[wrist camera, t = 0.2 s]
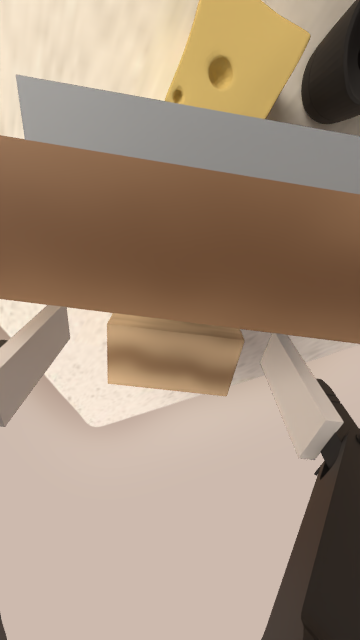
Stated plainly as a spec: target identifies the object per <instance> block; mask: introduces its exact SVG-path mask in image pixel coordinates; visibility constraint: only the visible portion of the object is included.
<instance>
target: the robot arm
mask: <svg viewBox="0 0 360 640" xmlns="http://www.w3.org/2000/svg"><path fill="white" fill-rule="evenodd" d="M69 339H70V333H69V324H68V316H67V307H62V306H54V305H47V306H46V307H45V308H44V309H43V310H42V311H40V312H39V313H38V314H37V315H36V316H35V317H34V318H33V319H32V320H30V321H29V322H28V323H27V324H26V325H25V326H24V327H23V328H22V329H20V330H19V331H18V332H17V333H16V334H15V335H14V336H13V337H12V338H11V339H9V340H0V426H3V427H5V426H6V425H7V423H8V422H9V421H10V419H11V418H12V417H13V415H14V414H15V413H16V411H17V410H18V408H19V407H20V406H21V404H22V403H23V402H24V400H25V399H26V398H27V396H28V395H29V394H30V392H31V391H32V389H33V388H34V387H35V385H36V384H37V383H38V381H39V380H40V378H41V377H42V376H43V374H44V373H45V372H46V370H47V369H48V368H49V366H50V365H51V364H52V362H53V361H54V359H55V358H56V357H57V355H58V354H59V353H60V351H61V350H62V349H63V347H64V346H65V345H66V343H67V342H68V340H69ZM260 364H261V366H262V369H263V371H264V374H265V376H266V379H267V381H268V384H269V386H270V389H271V391H272V394H273V396H274V399H275V401H276V403H277V406H278V408H279V411H280V413H281V416H282V418H283V421H284V423H285V425H286V428H287V431H288V433H289V436H290V438H291V440H292V443H293V446H294V448H295V451H296V453H297V455H298V458H301V459H310V460H315V458H317V456H318V455H319V454H320V452H321V454H322V456H323V458H324V460H325V461H324V462H323V463H322V465H321V466H320V467H319V468H318V470H317V471H316V472H315V475H318V476H317V479H316V482H315V485H314V488H313V491H312V494H311V497H310V500H309V503H308V506H307V509H306V512H305V515H304V518H303V520H302V524H301V526H300V530H299V532H298V535H297V538H296V541H295V544H294V547H293V550H292V553H291V556H290V559H289V562H288V565H287V568H286V571H285V574H284V577H283V579H282V583H281V586H280V589H279V591H278V595H277V597H276V600H275V603H274V606H273V609H272V612H271V615H270V618H269V621H268V624H267V627H266V630H265V632H264V635H263V637H262V639H261V640H360V429H359V428H358V427H357V425H356V424H355V423H354V421H353V420H352V418H351V417H350V415H349V414H348V412H347V411H346V409H345V408H344V407H343V405H342V404H340V401H339V399H338V398H337V397H336V395H335V394H334V392H333V391H332V389H331V388H330V387H329V386H328V385H327V384H326V383H325V382H324V381H323V380H321V379H316V378H315V377H314V375H313V374H312V372H311V371H310V369H309V368H308V366H307V365H306V363H305V362H304V360H303V358H302V357H301V355H300V354H299V352H298V351H297V349H296V348H295V346H294V345H293V343H292V342H291V340H290V339H289V337H288V335H286V334H278V333H272V335H271V337H270V339H269V342H268V344H267V347H266V349H265V352H264V354H263V356H262V359H261V361H260ZM0 640H7V638H6V634H5V631H4V628H3V624H2V620H1V615H0Z"/></svg>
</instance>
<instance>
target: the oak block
mask: <svg viewBox="0 0 360 640" xmlns="http://www.w3.org/2000/svg"><path fill="white" fill-rule="evenodd" d="M244 341H245V340H244V338H243V335H242V333H241V331H240V329H238V328H230V327H222V326H214V325H206V324H198V323H190V322H182V321H174V320H166V319H158V318H150V317H142V316H134V315H126V314H118V313H113V314H112V316H111V318H110V320H109V321H108V323H107V360H108V384H117V385H126V386H135V387H145V388H154V389H163V390H173V391H182V392H191V393H200V394H210V395H219V396H227V394H228V391H229V387H230V384H231V381H232V378H233V375H234V372H235V369H236V366H237V363H238V360H239V357H240V353H241V350H242V347H243V344H244Z"/></svg>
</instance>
